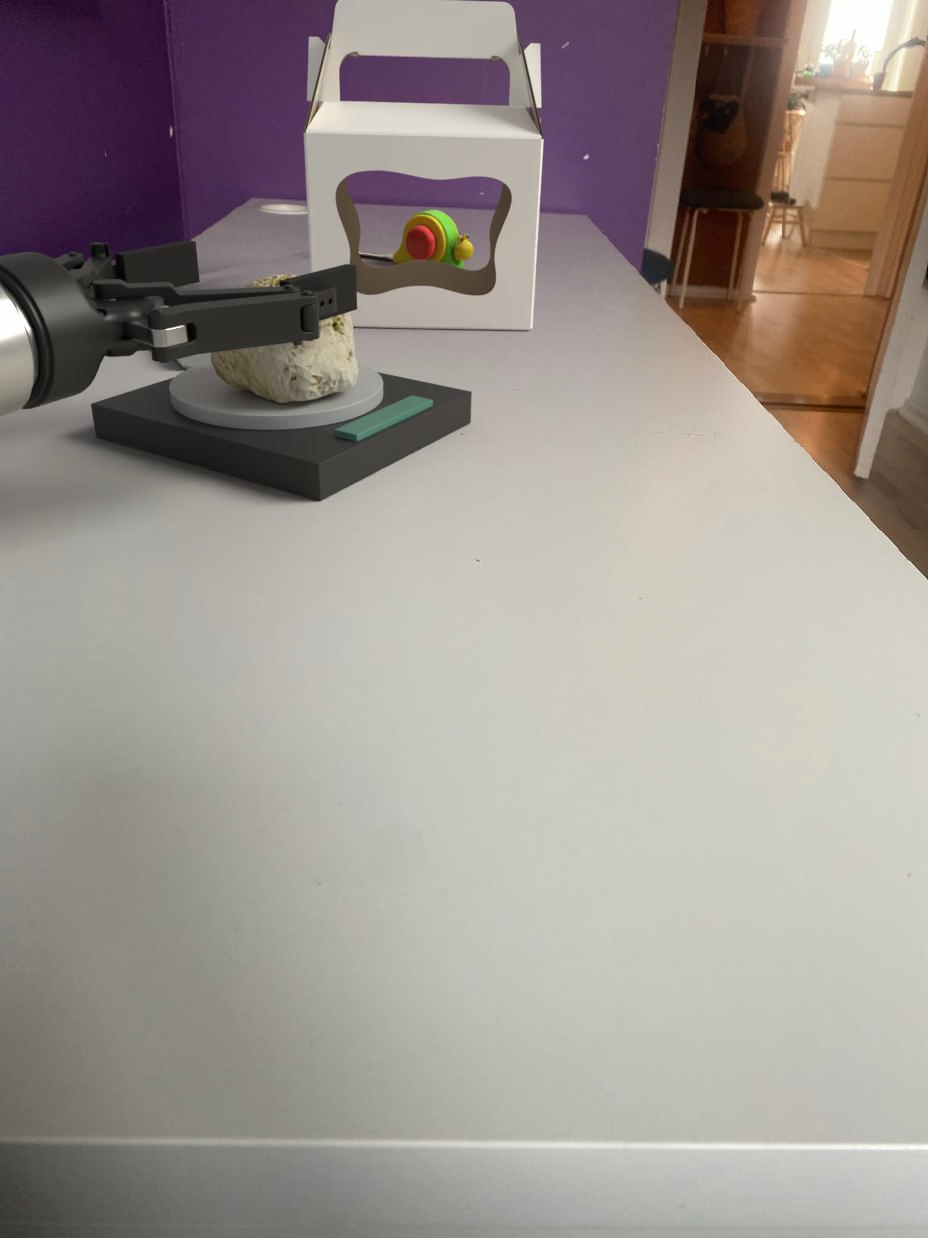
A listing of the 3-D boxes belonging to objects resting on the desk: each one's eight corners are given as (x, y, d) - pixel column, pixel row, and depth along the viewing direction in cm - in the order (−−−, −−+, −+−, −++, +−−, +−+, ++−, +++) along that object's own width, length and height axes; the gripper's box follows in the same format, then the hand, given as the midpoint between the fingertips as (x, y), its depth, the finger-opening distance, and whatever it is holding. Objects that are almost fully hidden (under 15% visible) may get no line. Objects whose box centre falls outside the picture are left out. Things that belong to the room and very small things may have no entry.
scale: (95, 436, 70) (87, 389, 69) (266, 376, 84) (263, 336, 82) (320, 501, 62) (318, 448, 60) (470, 422, 75) (472, 377, 73)
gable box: (524, 301, 111) (540, 5, 97) (534, 331, 100) (555, 0, 86) (322, 297, 110) (309, -2, 96) (310, 326, 99) (293, -8, 85)
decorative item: (190, 306, 73) (313, 244, 73) (251, 414, 76) (368, 356, 76) (178, 326, 62) (322, 253, 62) (248, 451, 66) (385, 382, 65)
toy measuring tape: (458, 275, 122) (459, 218, 119) (331, 256, 131) (329, 202, 127) (484, 268, 127) (486, 212, 124) (360, 250, 136) (359, 197, 132)
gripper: (-135, 371, 58) (142, 304, 74) (182, 459, 47) (426, 359, 63) (-172, 233, 54) (128, 195, 70) (162, 296, 43) (427, 233, 59)
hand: (269, 273), depth 67 cm, fingers open, 13 cm apart
